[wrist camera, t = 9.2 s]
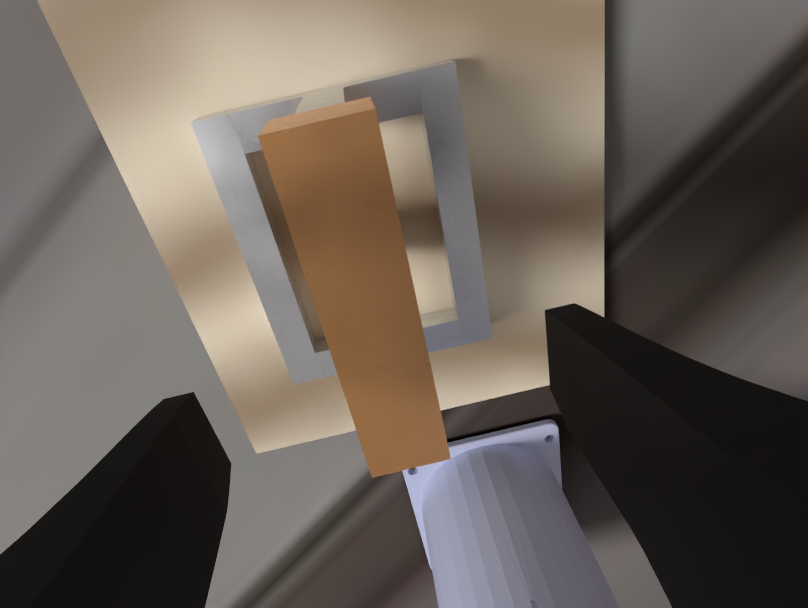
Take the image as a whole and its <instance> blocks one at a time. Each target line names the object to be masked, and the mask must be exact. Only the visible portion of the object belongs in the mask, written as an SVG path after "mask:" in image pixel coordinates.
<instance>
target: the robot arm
mask: <svg viewBox="0 0 808 608" xmlns="http://www.w3.org/2000/svg"><path fill="white" fill-rule="evenodd" d="M545 322H546V337H547V351H548V366H549V381H550V390H551V392H552V394H553V396H554V399H555V401H556V403H557V405H558V408H559V410H560V412H561V414H562V416H563V418H564V420H565V422H566V425H567V427H568V429H569V431H570V432H571V434H572V436H573V437H574V439H575V441H576V442H577V444H578V445H579V447H580V449H581V450H582V452H583V453H584V455H585V457H586V458H587V460H588V461H589V463H590V465H591V466H592V468H593V469H594V471H595V472H596V474H597V476H598V477H599V479H600V480H601V482H602V483H603V485H604V487H605V488H606V490H607V491H608V493H609V494H610V496H611V498H612V499H613V501H614V502H615V504H616V506H617V507H618V509H619V510H620V512H621V513H622V515H623V517H624V518H625V520H626V521H627V523H628V524H629V526H630V528H631V529H632V531H633V533H634V535H635V536H636V538H637V540H638V542H639V543H640V545H641V547H642V548H643V550H644V552H645V554H646V556H647V558H648V560H649V562H650V564H651V566H652V568H653V570H654V572H655V574H656V576H657V578H658V580H659V582H660V584H661V586H662V588H663V590H664V592H665V594H666V596H667V598H668V599H669V601H670V603H671V606H672V608H808V401H805V400H802V399H799V398H795V397H792V396H789V395H786V394H783V393H781V392H778V391H775V390H772V389H769V388H766V387H763V386H760V385H757V384H754V383H751V382H748V381H746V380H743V379H740V378H738V377H735V376H732V375H730V374H727V373H724V372H722V371H719V370H717V369H715V368H712V367H710V366H707V365H705V364H703V363H700V362H698V361H695V360H693V359H690V358H688V357H686V356H684V355H681V354H679V353H677V352H675V351H672V350H670V349H668V348H666V347H664V346H662V345H659V344H657V343H655V342H653V341H651V340H649V339H647V338H645V337H643V336H641V335H638V334H636V333H634V332H632V331H630V330H628V329H626V328H624V327H622V326H620V325H618V324H616V323H614V322H612V321H610V320H608V319H606V318H604V317H602V316H600V315H599V314H597V313H595V312H593V311H590V310H588V309H586V308H584V307H582V306H580V305H578V304H575V303H573V304H568V305H564V306H560V307H556V308H551V309H547V310H545ZM549 435H550V436H549ZM547 436H549V437H547ZM448 448H449V453H450V457H451V459H449V460H445V461H441V462H436V463H432V464H428V465H424V466H419V467H415V468H414V469H407V470H402V471H403V474H404V478H405V481H406V485H407V488H408V492H409V495H410V499H411V502H412V506H413V509H414V513H415V516H416V520H417V523H418V527H419V530H420V534H421V537H422V541H423V544H424V548H425V551H426V555H427V558H428V562H429V565H430V568H431V569H432V572H433V578H434V584H435V589H436V595H437V601H438V606H439V608H620V607H619V605H618V603H617V601H616V599H615V597H614V595H613V593H612V591H611V589H610V587H609V585H608V583H607V581H606V578H605V576H604V574H603V572H602V570H601V568H600V566H599V564H598V562H597V560H596V558H595V556H594V554H593V552H592V550H591V548H590V546H589V544H588V542H587V540H586V538H585V536H584V534H583V532H582V529H581V527H580V525H579V523H578V521H577V519H576V517H575V515H574V513H573V511H572V509H571V507H570V505H569V503H568V501H567V499H566V497H565V495H564V493H563V491H562V477H561V460H560V443H559V428H558V426H557V424H556V422H555V421H554V420H551V419H547V420H542V421H538V422H533V423H529V424H525V425H521V426H516V427H512V428H508V429H504V430H500V431H495V432H491V433H487V434H483V435H478V436H474V437H470V438H466V439H461V440H457V441H453V442H449V443H448ZM230 473H231V462H230V460H229V459H228V457H227V455H226V453H225V451H224V449H223V447H222V445H221V443H220V441H219V440H218V438H217V436H216V434H215V432H214V430H213V428H212V426H211V424H210V422H209V420H208V419H207V417H206V415H205V413H204V411H203V409H202V407H201V405H200V403H199V401H198V400H197V398H196V396H195V394H194V392H192V393H188V394H184V395H179V396H175V397H171V398H166V399H163V400H162V401H161V402H160V403H159V404H158V405H156V406H155V407H154V408H153V409H152V410H151V411H150V412H149V413H148V414H147V415H146V416H145V417H144V418H143V419H142V420H140V421H139V422H138V423H137V424H136V425H135V426H134V427H133V428H132V429H131V430H130V431H129V432H128V433H127V434H126V435H125V436H124V437H123V438H122V440H121V441H120V442H119V443H118V444H117V445H116V446H115V447H114V448H113V449H112V450H111V451H110V452H109V453H108V454H107V455H106V456H105V457H104V458H103V459H102V460H101V461H100V462H99V463H98V464H97V465H96V466H95V467H94V468H93V469H92V470H91V471H90V472H89V473H88V474H87V475H86V476H85V477H84V478H83V479H82V480H81V481H80V482H79V483H78V484H77V485H75V486H74V487H73V488H72V489H71V490H70V491H69V492H68V493H67V494H66V495H65V496H64V497H63V498H62V499H61V500H60V501H59V502H57V503H56V504H55V505H54V506H53V507H52V508H51V509H50V510H49V511H48V512H47V513H46V514H45V515H44V516H43V517H42V518H41V519H39V520H38V521H37V522H36V523H35V524H34V525H33V526H32V527H31V528H30V529H29V530H28V531H27V532H26V533H24V534H23V535H22V536H21V537H20V538H19V539H18V540H17V541H15V542H14V543H13V544H12V545H11V546H10V547H9V548H7V549H6V550H5V551H4V552H3V553H2V554H0V608H205V604H206V600H207V596H208V591H209V587H210V583H211V579H212V574H213V570H214V566H215V562H216V558H217V553H218V549H219V545H220V540H221V536H222V531H223V527H224V522H225V518H226V513H227V506H228V497H229V486H230Z"/></svg>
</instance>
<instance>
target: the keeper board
mask: <svg viewBox="0 0 808 608" xmlns="http://www.w3.org/2000/svg"><path fill="white" fill-rule="evenodd" d="M37 1H38V3H39V5H40V7H41V9H42V11H43V14H44V16H45V18H46V20H47V22H48V24H49V26H50V28H51V30H52V32H53V34H54V36H55V38H56V40H57V42H58V45H59V47H60V49H61V51H62V53H63V55H64V57H65V59H66V61H67V63H68V65H69V67H70V69H71V71H72V73H73V76H74V78H75V80H76V82H77V84H78V86H79V88H80V90H81V92H82V94H83V96H84V98H85V100H86V102H87V104H88V107H89V109H90V111H91V113H92V115H93V117H94V119H95V121H96V123H97V125H98V127H99V129H100V131H101V133H102V135H103V138H104V140H105V142H106V144H107V146H108V148H109V150H110V152H111V154H112V156H113V158H114V160H115V162H116V164H117V166H118V169H119V171H120V173H121V175H122V177H123V179H124V181H125V183H126V185H127V187H128V189H129V191H130V193H131V195H132V197H133V200H134V202H135V204H136V206H137V208H138V210H139V212H140V214H141V216H142V218H143V220H144V222H145V224H146V226H147V228H148V231H149V233H150V235H151V237H152V239H153V241H154V243H155V245H156V247H157V249H158V251H159V253H160V255H161V257H162V259H163V262H164V264H165V266H166V268H167V270H168V272H169V274H170V276H171V278H172V280H173V282H174V284H175V286H176V288H177V290H178V293H179V295H180V297H181V299H182V301H183V303H184V305H185V307H186V309H187V311H188V313H189V315H190V317H191V319H192V321H193V324H194V326H195V328H196V330H197V332H198V334H199V336H200V338H201V340H202V342H203V344H204V346H205V348H206V350H207V352H208V355H209V357H210V359H211V361H212V363H213V365H214V367H215V369H216V371H217V373H218V375H219V377H220V379H221V381H222V383H223V386H224V388H225V390H226V392H227V394H228V396H229V398H230V400H231V402H232V404H233V406H234V408H235V410H236V412H237V414H238V417H239V419H240V421H241V423H242V425H243V427H244V429H245V431H246V433H247V435H248V437H249V439H250V441H251V443H252V445H253V448H254V450H255V452H256V454H257V453H262V452H266V451H270V450H275V449H279V448H283V447H287V446H292V445H296V444H300V443H304V442H309V441H313V440H317V439H321V438H326V437H330V436H334V435H338V434H343V433H347V432H351V431H355V430H356V428H355V425H354V422H353V419H352V416H351V413H350V410H349V407H348V404H347V401H346V398H345V395H344V392H343V389H342V386H341V383H340V380H339V377H338V374H337V375H333V376H329V377H324V378H320V379H316V380H312V381H307V382H303V383H299V384H295V385H294V384H293V381H292V379H291V376H290V374H289V371H288V369H287V366H286V364H285V361H284V359H283V356H282V354H281V351H280V348H279V346H278V343H277V341H276V338H275V336H274V333H273V331H272V328H271V326H270V323H269V321H268V318H267V316H266V313H265V310H264V308H263V305H262V303H261V300H260V298H259V295H258V293H257V290H256V288H255V285H254V283H253V280H252V278H251V275H250V272H249V270H248V267H247V265H246V262H245V260H244V257H243V255H242V252H241V250H240V247H239V245H238V242H237V240H236V237H235V234H234V232H233V229H232V227H231V224H230V222H229V219H228V217H227V214H226V212H225V209H224V207H223V204H222V202H221V199H220V196H219V194H218V191H217V189H216V186H215V184H214V181H213V179H212V176H211V174H210V171H209V169H208V166H207V164H206V161H205V158H204V156H203V153H202V151H201V148H200V146H199V143H198V141H197V138H196V136H195V133H194V131H193V128H192V126H191V123H190V122H192V121H194V120H195V119H197V118H198V117H202V116H207V115H211V114H215V113H220V112H224V111H228V110H233V109H237V108H241V107H246V106H250V105H254V104H258V103H263V102H267V101H271V100H276V99H280V98H284V97H289V96H293V95H297V94H302V93H306V92H310V91H315V90H319V89H323V88H328V87H332V86H336V85H341V84H345V83H349V82H354V81H358V80H362V79H367V78H371V77H375V76H380V75H384V74H388V73H393V72H397V71H401V70H406V69H410V68H414V67H418V66H423V65H427V64H431V63H436V62H440V61H444V60H453V61H456V69H457V76H458V84H459V91H460V99H461V106H462V114H463V121H464V129H465V136H466V144H467V151H468V159H469V166H470V174H471V181H472V189H473V196H474V204H475V211H476V218H477V226H478V233H479V241H480V248H481V256H482V263H483V271H484V278H485V286H486V293H487V301H488V308H489V316H490V323H491V331H492V338H491V339H486V340H482V341H478V342H473V343H469V344H465V345H461V346H456V347H452V348H448V349H444V350H439V351H435V352H431V353H428V355H429V359H430V364H431V369H432V373H433V378H434V383H435V387H436V392H437V397H438V401H439V406H440V410H445V409H449V408H453V407H457V406H462V405H466V404H470V403H475V402H479V401H483V400H487V399H492V398H496V397H500V396H504V395H509V394H513V393H517V392H521V391H526V390H530V389H534V388H538V387H543V386H547V385H550V381H549V366H548V351H547V337H546V322H545V310H547V309H551V308H556V307H560V306H564V305H568V304H573V303H575V304H578V305H580V306H582V307H584V308H586V309H588V310H590V311H593V312H595V313H597V314H599V315H600V316H602V317H604V116H605V0H37ZM379 127H380V131H381V136H382V141H383V145H384V150H385V155H386V159H387V164H388V169H389V173H390V178H391V183H392V187H393V192H394V197H395V201H396V206H397V211H398V215H399V220H400V225H401V229H402V234H403V238H404V243H405V248H406V252H407V257H408V262H409V266H410V271H411V276H412V280H413V285H414V290H415V294H416V299H417V304H418V308H419V313H420V315H421V314H425V313H429V312H433V311H438V310H442V309H446V308H450V307H453V304H452V298H451V292H450V286H449V281H448V275H447V269H446V264H445V258H444V252H443V246H442V241H441V235H440V229H439V223H438V218H437V212H436V206H435V200H434V195H433V189H432V183H431V178H430V172H429V166H428V160H427V155H426V149H425V143H424V137H423V132H422V126H421V120H420V114H415V115H411V116H407V117H402V118H398V119H394V120H389V121H385V122H381V123H379ZM251 153H252V156H253V159H254V162H255V165H256V167H257V170H258V173H259V176H260V179H261V182H262V185H263V188H264V190H265V193H266V196H267V199H268V202H269V205H270V208H271V211H272V214H273V216H274V219H275V222H276V225H277V228H278V231H279V234H280V237H281V240H282V242H283V245H284V248H285V251H286V254H287V257H288V260H289V263H290V266H291V268H292V271H293V274H294V277H295V280H296V283H297V286H298V289H299V292H300V294H301V297H302V300H303V303H304V306H305V309H306V312H307V315H308V318H309V320H310V323H311V326H312V329H313V332H314V335H315V338H316V339H318V338H322V337H325V335H324V332H323V329H322V326H321V323H320V320H319V317H318V314H317V311H316V308H315V305H314V302H313V299H312V297H311V294H310V291H309V288H308V285H307V282H306V279H305V276H304V273H303V270H302V267H301V264H300V261H299V258H298V255H297V252H296V249H295V246H294V243H293V240H292V237H291V234H290V231H289V228H288V225H287V222H286V219H285V216H284V213H283V210H282V207H281V204H280V201H279V198H278V195H277V192H276V189H275V186H274V183H273V180H272V177H271V174H270V171H269V168H268V165H267V162H266V159H265V156H264V153H263V150H260V151H256V152H251Z"/></svg>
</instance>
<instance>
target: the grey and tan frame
mask: <svg viewBox="0 0 808 608" xmlns="http://www.w3.org/2000/svg"><path fill="white" fill-rule="evenodd" d="M415 114H420V120H421V126H422V132H423V137H424V143H425V149H426V155H427V160H428V166H429V172H430V178H431V183H432V189H433V195H434V200H435V206H436V212H437V218H438V223H439V229H440V235H441V241H442V246H443V252H444V258H445V264H446V269H447V275H448V281H449V286H450V292H451V298H452V304H453V307H450V308H446V309H442V310H438V311H433V312H429V313H425V314H421V315H420V313H419V308H418V304H417V299H416V294H415V290H414V285H413V280H412V276H411V271H410V266H409V262H408V257H407V252H406V248H405V243H404V238H403V234H402V229H401V225H400V220H399V215H398V211H397V206H396V201H395V197H394V192H393V187H392V183H391V178H390V173H389V169H388V164H387V159H386V155H385V150H384V145H383V141H382V136H381V131H380V127H379V123H381V122H385V121H389V120H394V119H398V118H402V117H407V116H411V115H415ZM190 123H191V126H192V128H193V131H194V133H195V136H196V138H197V141H198V143H199V146H200V148H201V151H202V153H203V156H204V158H205V161H206V164H207V166H208V169H209V171H210V174H211V176H212V179H213V181H214V184H215V186H216V189H217V191H218V194H219V196H220V199H221V202H222V204H223V207H224V209H225V212H226V214H227V217H228V219H229V222H230V224H231V227H232V229H233V232H234V234H235V237H236V240H237V242H238V245H239V247H240V250H241V252H242V255H243V257H244V260H245V262H246V265H247V267H248V270H249V272H250V275H251V278H252V280H253V283H254V285H255V288H256V290H257V293H258V295H259V298H260V300H261V303H262V305H263V308H264V310H265V313H266V316H267V318H268V321H269V323H270V326H271V328H272V331H273V333H274V336H275V338H276V341H277V343H278V346H279V348H280V351H281V354H282V356H283V359H284V361H285V364H286V366H287V369H288V371H289V374H290V376H291V379H292V381H293V384H294V385H295V384H299V383H303V382H307V381H312V380H316V379H320V378H324V377H329V376H333V375H337V374H338V377H339V380H340V383H341V386H342V389H343V392H344V395H345V398H346V401H347V404H348V407H349V410H350V413H351V416H352V419H353V422H354V425H355V428H356V431H357V434H358V437H359V440H360V443H361V446H362V449H363V452H364V455H365V458H366V461H367V464H368V467H369V470H370V473H371V476H372V478H373V477H377V476H381V475H385V474H390V473H394V472H398V471H402V470H407V469H411V468H415V467H419V466H424V465H428V464H432V463H436V462H441V461H445V460H449V459H451V457H450V453H449V448H448V443H447V439H446V434H445V429H444V425H443V420H442V415H441V411H440V406H439V401H438V397H437V392H436V387H435V383H434V378H433V373H432V369H431V364H430V359H429V355H428V353H431V352H435V351H439V350H444V349H448V348H452V347H456V346H461V345H465V344H469V343H473V342H478V341H482V340H486V339H491V338H492V331H491V323H490V316H489V308H488V301H487V293H486V286H485V278H484V271H483V263H482V256H481V248H480V241H479V233H478V226H477V218H476V211H475V204H474V196H473V189H472V181H471V174H470V166H469V159H468V151H467V144H466V136H465V129H464V121H463V114H462V106H461V99H460V91H459V84H458V76H457V69H456V61H453V60H444V61H440V62H436V63H431V64H427V65H423V66H418V67H414V68H410V69H406V70H401V71H397V72H393V73H388V74H384V75H380V76H375V77H371V78H367V79H362V80H358V81H354V82H349V83H345V84H341V85H336V86H332V87H328V88H323V89H319V90H315V91H310V92H306V93H302V94H297V95H293V96H289V97H284V98H280V99H276V100H271V101H267V102H263V103H258V104H254V105H250V106H246V107H241V108H237V109H233V110H228V111H224V112H220V113H215V114H211V115H207V116H202V117H198V118H197V119H195V120H194V121H192V122H190ZM260 150H263V153H264V156H265V159H266V162H267V165H268V168H269V171H270V174H271V177H272V180H273V183H274V186H275V189H276V192H277V195H278V198H279V201H280V204H281V207H282V210H283V213H284V216H285V219H286V222H287V225H288V228H289V231H290V234H291V237H292V240H293V243H294V246H295V249H296V252H297V255H298V258H299V261H300V264H301V267H302V270H303V273H304V276H305V279H306V282H307V285H308V288H309V291H310V294H311V297H312V299H313V302H314V305H315V308H316V311H317V314H318V317H319V320H320V323H321V326H322V329H323V332H324V335H325V337H322V338H318V339H316V338H315V335H314V332H313V329H312V326H311V323H310V320H309V318H308V315H307V312H306V309H305V306H304V303H303V300H302V297H301V294H300V292H299V289H298V286H297V283H296V280H295V277H294V274H293V271H292V268H291V266H290V263H289V260H288V257H287V254H286V251H285V248H284V245H283V242H282V240H281V237H280V234H279V231H278V228H277V225H276V222H275V219H274V216H273V214H272V211H271V208H270V205H269V202H268V199H267V196H266V193H265V190H264V188H263V185H262V182H261V179H260V176H259V173H258V170H257V167H256V165H255V162H254V159H253V156H252V153H251V152H256V151H260Z"/></svg>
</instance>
